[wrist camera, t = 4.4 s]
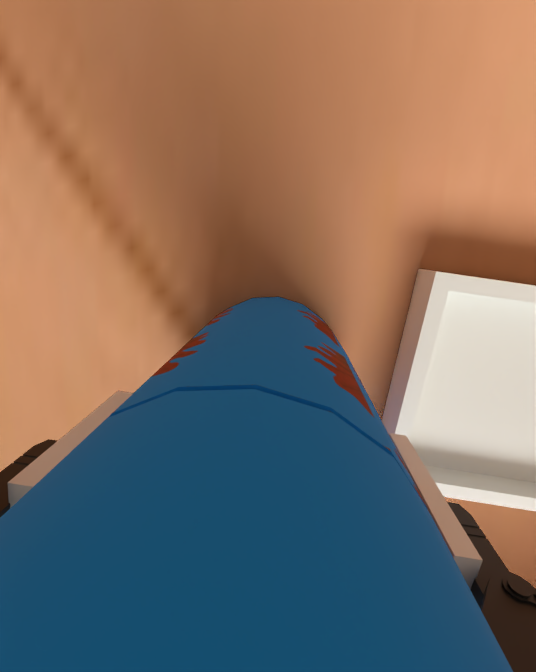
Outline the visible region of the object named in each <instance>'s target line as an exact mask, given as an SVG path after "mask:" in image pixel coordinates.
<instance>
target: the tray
mask: <svg viewBox="0 0 536 672" xmlns="http://www.w3.org/2000/svg"><path fill="white" fill-rule="evenodd" d="M382 423H383V425H384V426H385V428H386V430H387V432H388V434H389V433H393V434H400V435H406V436H407V438H408V439H409V441H410V443H411V444H412V446H413V448H414V449H415V451H416V452H417V454H418V456H419V457H420V459H421V461H422V462H423V464H424V465H425V467H426V469H427V470H428V472H429V474H430V475H431V477H432V478H433V480H434V482H435V483H436V485H437V487H438V488H439V490H440V491H441V493H442V495H443V496H444V497H448V498H455V499H461V500H467V501H473V502H480V503H486V504H492V505H498V506H505V507H511V508H517V509H524V510H530V511H536V285H530V284H523V283H516V282H509V281H502V280H495V279H488V278H481V277H474V276H467V275H460V274H453V273H446V272H439V271H432V270H425V269H418V273H417V277H416V281H415V285H414V289H413V293H412V297H411V302H410V306H409V310H408V314H407V318H406V322H405V326H404V330H403V335H402V339H401V343H400V347H399V351H398V355H397V359H396V364H395V368H394V372H393V376H392V380H391V384H390V388H389V392H388V397H387V401H386V405H385V409H384V413H383V417H382Z"/></svg>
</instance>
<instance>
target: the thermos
mask: <svg viewBox="0 0 536 672" xmlns="http://www.w3.org/2000/svg"><path fill="white" fill-rule="evenodd" d="M0 672H513V670H512V668H511V666H510V665H509V663H508V661H507V659H506V657H505V655H504V653H503V651H502V649H501V647H500V646H499V644H498V642H497V640H496V638H495V636H494V634H493V632H492V630H491V628H490V626H489V625H488V623H487V621H486V619H485V617H484V615H483V613H482V611H481V609H480V607H479V606H478V604H477V602H476V600H475V598H474V596H473V594H472V592H471V590H470V588H469V586H468V585H467V583H466V581H465V579H464V577H463V575H462V573H461V571H460V569H459V567H458V566H457V564H456V562H455V560H454V558H453V556H452V554H451V552H450V550H449V548H448V546H447V545H446V543H445V541H444V539H443V537H442V535H441V533H440V531H439V529H438V527H437V526H436V524H435V522H434V520H433V518H432V516H431V514H430V513H429V511H428V509H427V506H426V505H425V503H424V501H423V499H422V497H421V495H420V493H419V491H418V489H417V487H416V486H415V484H414V482H413V480H412V478H411V476H410V474H409V472H408V470H407V468H406V466H405V465H404V463H403V461H402V459H401V457H400V455H399V453H398V451H397V449H396V447H395V446H394V444H393V442H392V440H391V438H390V436H389V434H388V432H387V430H386V428H385V426H384V425H383V423H382V421H381V419H380V417H379V415H378V413H377V411H376V409H375V407H374V406H373V404H372V402H371V400H370V398H369V396H368V394H367V392H366V390H365V388H364V386H363V385H362V383H361V381H360V379H359V377H358V375H357V373H356V371H355V369H354V367H353V366H352V364H351V362H350V360H349V358H348V356H347V354H346V353H345V351H344V350H343V348H342V346H341V345H340V343H339V342H338V340H337V338H336V337H335V335H334V334H333V332H332V330H331V329H330V328H329V327H328V325H327V324H326V323H325V322H324V320H323V319H321V318H320V317H319V316H317V315H316V314H315V313H313V312H312V311H311V310H309V309H308V308H307V307H306V306H304V305H303V304H300V303H297V302H294V301H290V300H287V299H284V298H281V297H263V298H251V299H249V300H247V301H244V302H242V303H240V304H237V305H235V306H232V307H230V308H228V309H227V310H225V311H223V312H222V313H220V314H218V315H217V316H216V317H215V318H214V319H213V320H212V321H210V322H209V323H208V324H207V325H206V326H205V327H204V328H203V329H202V330H201V331H200V332H199V333H198V334H197V335H195V336H194V337H193V338H192V339H191V340H190V341H189V342H188V343H187V344H186V345H185V346H184V347H183V348H182V349H180V350H179V351H178V352H177V353H176V354H175V355H174V356H173V357H172V358H171V359H170V360H169V361H168V362H167V363H165V364H164V365H163V366H162V367H161V368H160V369H159V370H158V371H157V372H156V373H155V374H154V375H153V376H152V377H150V378H149V379H148V380H147V381H146V382H145V383H144V384H143V385H142V386H141V387H140V388H139V389H138V390H136V391H135V392H134V393H133V394H132V395H131V396H130V397H129V398H128V399H127V400H126V401H125V402H124V403H123V404H121V405H120V406H119V407H118V408H117V409H116V410H115V411H114V412H113V413H112V414H111V415H110V416H109V417H108V418H106V419H105V420H104V421H103V422H102V423H101V424H100V425H99V426H98V427H97V428H96V429H95V430H94V431H93V432H91V433H90V434H89V435H88V436H87V437H86V438H85V439H84V440H83V441H82V442H81V443H80V444H79V445H78V446H76V447H75V448H74V449H73V450H72V451H71V452H70V453H69V454H68V455H67V456H66V457H65V458H64V459H63V460H61V461H60V462H59V463H58V464H57V465H56V466H55V467H54V468H53V469H52V470H51V471H50V472H49V473H48V474H46V475H45V476H44V477H43V478H42V479H41V480H40V481H39V482H38V483H37V484H36V485H35V486H34V487H33V488H31V489H30V490H29V491H28V492H27V493H26V494H25V495H24V496H23V497H22V498H21V499H20V500H19V501H18V502H16V503H15V504H14V505H13V506H12V507H11V508H10V509H9V510H8V511H7V512H6V513H5V514H4V515H3V516H1V517H0Z"/></svg>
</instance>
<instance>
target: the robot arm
mask: <svg viewBox="0 0 536 672" xmlns="http://www.w3.org/2000/svg"><path fill="white" fill-rule="evenodd" d="M132 394H133V393H129V392H123V391H117V392H116V393H114V394H113V395H112V396H111V397H110V398H108V399H107V400H106V401H105V402H104V403H102V404H101V405H100V406H99V407H98V408H96V409H95V410H94V411H93V412H92V413H90V414H89V415H88V416H87V417H86V418H84V419H83V420H82V421H81V422H80V423H78V424H77V425H76V426H75V427H74V428H72V429H71V430H70V431H69V432H68V433H67V434H65V435H64V436H63V437H62V438H61V439H59V440H58V441H55V440H46V441H44V442H42V443H40V444H37V445H35V446H33V447H32V448H31V449H29V450H28V451H27V452H26V453H24V454H23V456H20V457H19V458H18V459H17V460H15V461H14V463H11V464H10V465H9V466H8V467H6V468H5V469H4V470H2V471H1V472H0V517H1V516H3V515H4V514H5V513H6V512H7V511H8V510H9V509H10V508H11V507H12V506H13V505H14V504H15V503H16V502H18V501H19V500H20V499H21V498H22V497H23V496H24V495H25V494H26V493H27V492H28V491H29V490H30V489H31V488H33V487H34V486H35V485H36V484H37V483H38V482H39V481H40V480H41V479H42V478H43V477H44V476H45V475H46V474H48V473H49V472H50V471H51V470H52V469H53V468H54V467H55V466H56V465H57V464H58V463H59V462H60V461H61V460H63V459H64V458H65V457H66V456H67V455H68V454H69V453H70V452H71V451H72V450H73V449H74V448H75V447H76V446H78V445H79V444H80V443H81V442H82V441H83V440H84V439H85V438H86V437H87V436H88V435H89V434H90V433H91V432H93V431H94V430H95V429H96V428H97V427H98V426H99V425H100V424H101V423H102V422H103V421H104V420H105V419H106V418H108V417H109V416H110V415H111V414H112V413H113V412H114V411H115V410H116V409H117V408H118V407H119V406H120V405H121V404H123V403H124V402H125V401H126V400H127V399H128V398H129V397H130V396H131V395H132ZM389 436H390V438H391V440H392V442H393V444H394V446H395V447H396V449H397V451H398V453H399V455H400V457H401V459H402V461H403V463H404V465H405V466H406V468H407V470H408V472H409V474H410V476H411V478H412V480H413V482H414V484H415V486H416V487H417V489H418V491H419V493H420V495H421V497H422V499H423V501H424V503H425V505H426V506H427V509H428V511H429V513H430V514H431V516H432V518H433V520H434V522H435V524H436V526H437V527H438V529H439V531H440V533H441V535H442V537H443V539H444V541H445V543H446V545H447V546H448V548H449V550H450V552H451V554H452V556H453V558H454V560H455V562H456V564H457V566H458V567H459V569H460V571H461V573H462V575H463V577H464V579H465V581H466V583H467V585H468V586H469V588H470V590H471V592H472V594H473V596H474V598H475V600H476V602H477V604H478V606H479V607H480V609H481V611H482V613H483V615H484V617H485V619H486V621H487V623H488V625H489V626H490V628H491V630H492V632H493V634H494V636H495V638H496V640H497V642H498V644H499V646H500V647H501V649H502V651H503V653H504V655H505V657H506V659H507V661H508V663H509V665H510V666H511V668H512V670H513V672H536V589H535V588H534V587H533V586H532V585H531V584H530V583H529V582H527V581H526V580H524V579H523V578H521V577H520V576H518V575H515V574H513V573H511V572H509V571H508V569H507V568H506V566H505V565H504V563H503V562H502V560H501V559H500V557H499V556H498V554H497V553H496V551H495V550H494V548H493V547H492V545H491V544H490V542H489V541H488V539H486V536H485V535H484V533H483V532H482V531H481V529H479V526H478V525H477V523H476V522H475V520H474V519H473V517H472V516H471V515H470V514H469V513H468V512H467V511H466V510H465V509H464V508H463V507H461V506H460V505H459V504H456V503H450V502H447V501H446V500H445V498H444V496H443V495H442V493H441V491H440V490H439V488H438V487H437V485H436V483H435V482H434V480H433V478H432V477H431V475H430V474H429V472H428V470H427V469H426V467H425V465H424V464H423V462H422V461H421V459H420V457H419V456H418V454H417V452H416V451H415V449H414V448H413V446H412V444H411V443H410V441H409V439H408V438H407V436H406V435H400V434H393V433H389Z"/></svg>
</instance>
